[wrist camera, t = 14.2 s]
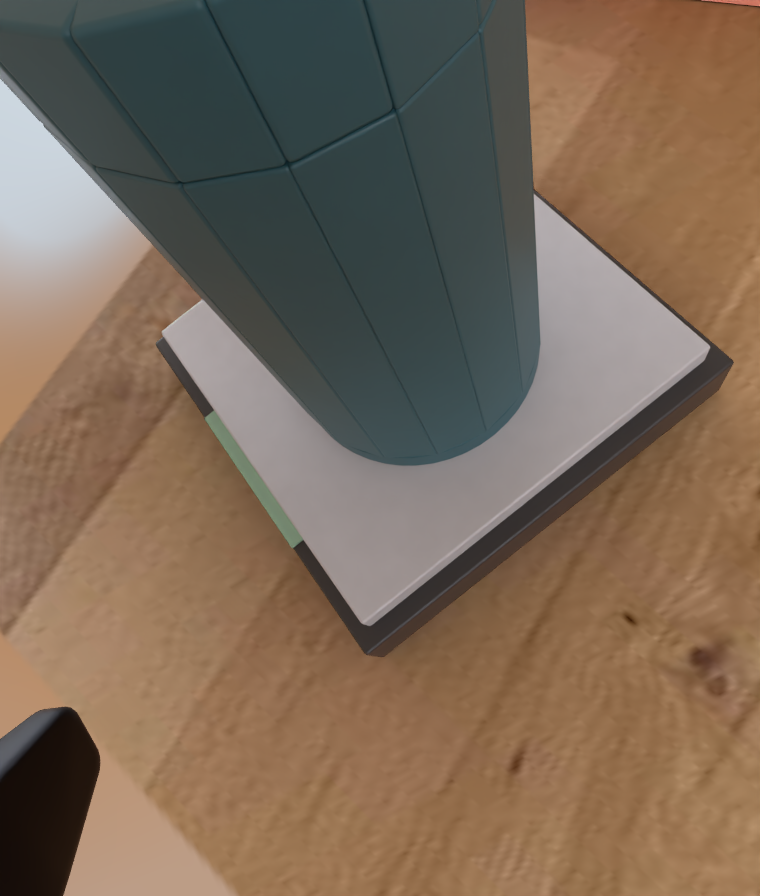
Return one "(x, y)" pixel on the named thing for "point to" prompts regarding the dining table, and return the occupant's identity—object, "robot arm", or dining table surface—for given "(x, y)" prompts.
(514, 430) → the scale
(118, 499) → the dining table surface
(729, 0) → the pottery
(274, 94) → the jar
